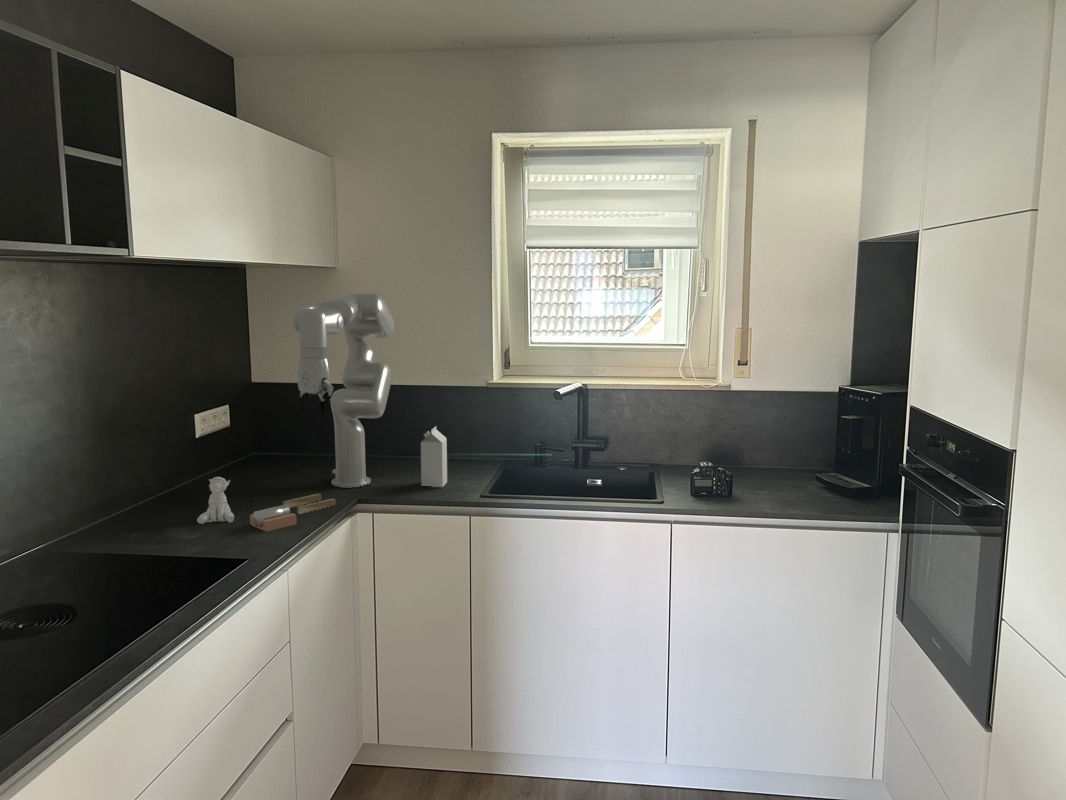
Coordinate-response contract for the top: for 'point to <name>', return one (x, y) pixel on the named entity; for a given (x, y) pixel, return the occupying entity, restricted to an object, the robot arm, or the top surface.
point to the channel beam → (311, 506)
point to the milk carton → (434, 459)
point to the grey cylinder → (269, 514)
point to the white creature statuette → (217, 503)
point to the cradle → (276, 522)
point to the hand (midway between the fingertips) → (315, 412)
